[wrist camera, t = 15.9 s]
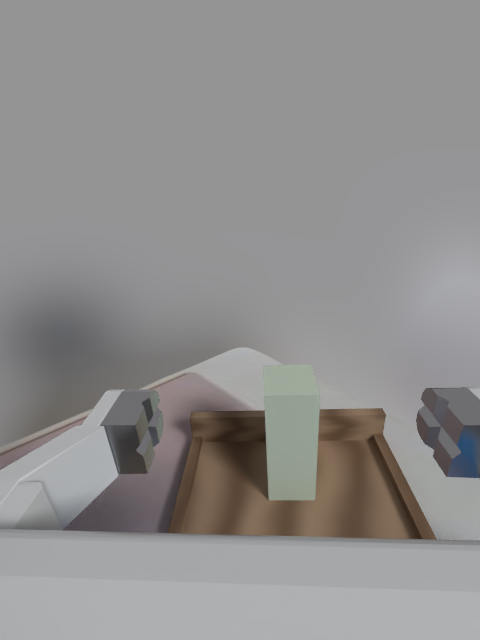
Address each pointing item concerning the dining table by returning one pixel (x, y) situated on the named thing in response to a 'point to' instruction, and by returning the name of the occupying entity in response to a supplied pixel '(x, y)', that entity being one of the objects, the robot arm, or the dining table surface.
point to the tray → (296, 515)
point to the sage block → (291, 431)
